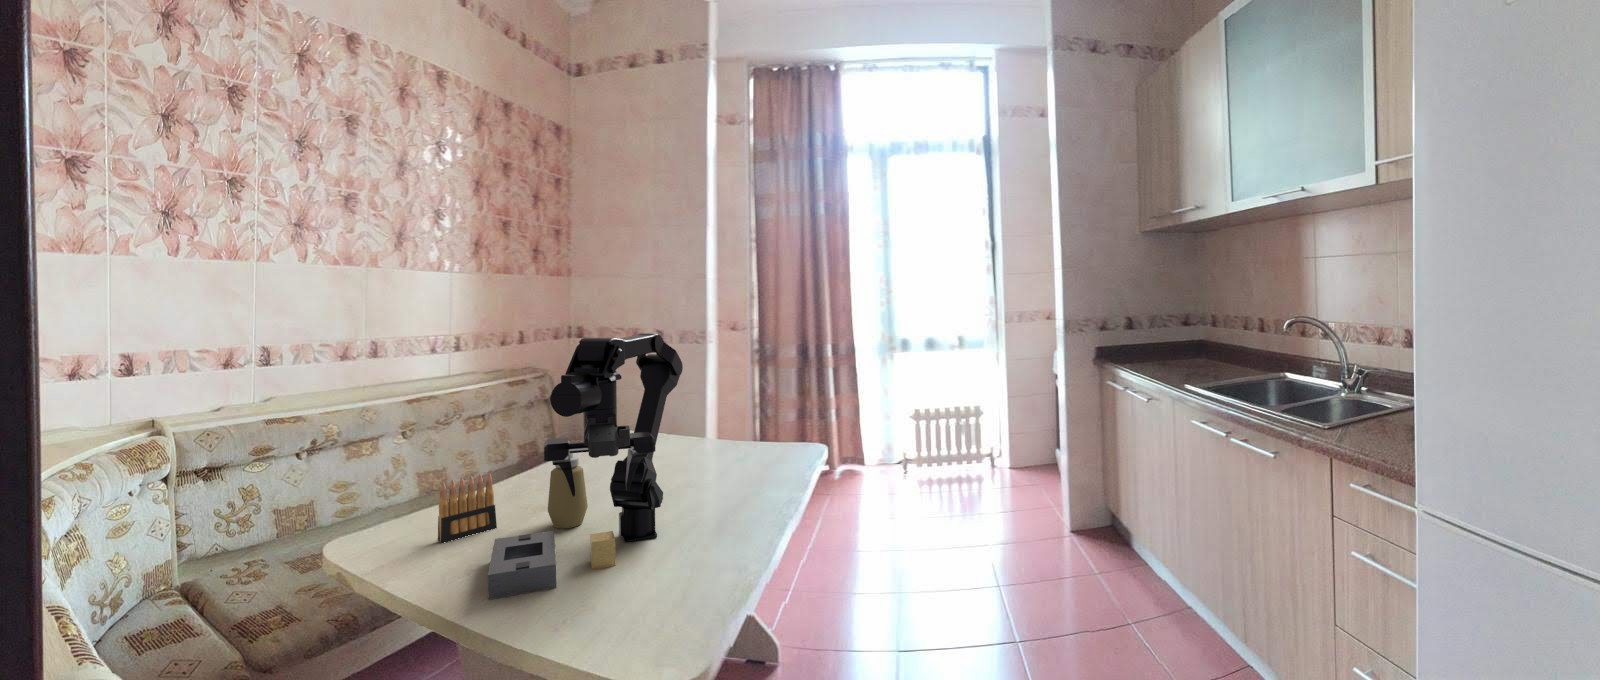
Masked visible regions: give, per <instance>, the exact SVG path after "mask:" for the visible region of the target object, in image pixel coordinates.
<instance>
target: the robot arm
mask: <svg viewBox="0 0 1600 680" xmlns="http://www.w3.org/2000/svg"><path fill="white" fill-rule="evenodd" d="M578 342H579V344H578V345H576V347H575V350H574V352H573V354H572V357H571V360H570V362H569V364H568V366H567V369H566V372H565V374H562V375H561V376H560V382H559V383H558V384H556V385H555V387H554V388H553V389H552V391H551V394H550V395H549V401H550V405H551V407H552V409H553V411H554V412H555V413H556V414H557V415H559V416H561V417H563V418H564V417H565V418H567V417H572V416H576V415H580V414H583V417H582V419H583V421H582V422H583V424H582V425H583V428H582V429H583V441H574V442H570V443H568V441H569V439H568V437H562V438H561V437H560V438H547V439H546V440H545V441H544V443H543V459H544V462H552V463H551V464H552V466H555V465H559V466H560V468H561V469H562V471H563V473H564V474H565V476H566V479H567V482H568V484H569V487H570V490H571V493H572V496H573V497H574V496H575V484H574V478H573V472H572V466H571V460H570V453H573V454H578V453H580V454H581V453H588V456H589V457H590V458H593V459H594V458H595V459H597V458H600V457H608V456H609V457H616V456H617V455H618V454H619V450H625V449H627V456H626V457H624V459H623V460H622V459H621V460H617V461H616V463H615V464H614V470H613V474H612V476H611V479H610V484H609V491H610V496H611V499H612V504H613V508H614V507H615V508H618V507H619V508H621V512H618V532H619V536H620V537H622V540H623V542H625V543H628V542H629V543H630V542H635V541H641V540H648V539H654V538H658V533H657V531H656V509H657V508H660V507H661V506H662V504H663V500H664V492H663V490H662V488H661V487H660V486H659V484H658V483H657V476H658V475H657V471H656V468H655V465H654V462H653V458H654V453H655V452H656V444H657V440H658V436H659V432H660V428H661V427H660V426H661V423H662V419H663V413H664V409H665V406H666V400H667V397H668V395H669V394H670V393H671V392H672V391H673V390H674V389H676V387H677V385H678V382H679V380H680V377H681V375H682V373H683V362H682V359H681V358H680V355H679V354H678V352H677V351H676V349H674V348H673V347H672V346H671V345H669V344H668V343H666V342H665V341H664V339H663V337H662V336H661V334H658V333H638V334H635V335H632V336H625V337H620V338H617V337H583V338H581V339H580V340H579V341H578ZM632 358H636V360H635V363H636V366H637V367H638V369H639V371H640V374H639V378H640V381H641V383H642V386H643V388H644V390H643V394H642V399H641V402H640V405H639V410H638V415H637V418H636V421H635V422H636V423H635V427H634V431H633V432H631V428H630V425H628V424H627V425H626V424H625V425H618V407H617V406H618V405H617V404H618V403H617V399H618V398H617V395H618V394H617V381H620V380H622V375H621V374H620V373H619V372H618V371H617V370H618V369H619V368H620V367H622V366H624V365H625V363H626V360H629V359H632Z"/></svg>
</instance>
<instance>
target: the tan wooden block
mask: <svg viewBox="0 0 1600 680" xmlns="http://www.w3.org/2000/svg"><path fill="white" fill-rule="evenodd" d="M615 537H616V536H615V533H614V531H613V530H610V531H604V532H603V531H602V532H595V533H589V551H590V553H589V554H590V556H589V558H590V566H591V569H592V570H596V569H597V570H598V569H603V568H609V567H615V566H616V538H615Z"/></svg>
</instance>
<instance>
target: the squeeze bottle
mask: <svg viewBox="0 0 1600 680" xmlns="http://www.w3.org/2000/svg"><path fill="white" fill-rule="evenodd" d="M568 443H571V442H570V440H568ZM570 460H571V466H572V472H573V478H574V484H575V496H574V497H573V496H572V493H571V490H570V487H569V484H568V482H567V479H566V476H565V474H564V473H563V471H562V469H561V468H560V466H559V465H554V467H555V468H553V469H552V470H550V478H549V489H548V499H547V513H548V515H549V517H550V520H551V523H552V525H553V527H554V528H556V529H570V528H571V529H572V528H574V527H578V526H580V525H582V524H583V522H584V520H585V516H586V513H587V510H588V507H589V505H588V497H587V491H586V481H585V474H584V468H583V467H582V466H580V465H579V464H580V463H579V456H577V455H574V453H570Z"/></svg>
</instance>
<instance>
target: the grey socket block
mask: <svg viewBox="0 0 1600 680" xmlns="http://www.w3.org/2000/svg"><path fill="white" fill-rule="evenodd" d="M555 543H556V541H555V531H554V530H550V531H541V532H535V533H527V534H521V535H512V536H505V537H498V538H494V543H493V548H492V552H491V558H490V563H489V568H488V573H487V587H488V588H487V590H488V591H487V593H488V594H487V596H488V597H487V598H488V600H489V601H490V600H493V599H500V598H506V597H511V596H517V595H522V594H528V593H534V592H539V591H544V590H546V591H547V590H551V589H557V568H556V567H557V561H556V545H555Z"/></svg>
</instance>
